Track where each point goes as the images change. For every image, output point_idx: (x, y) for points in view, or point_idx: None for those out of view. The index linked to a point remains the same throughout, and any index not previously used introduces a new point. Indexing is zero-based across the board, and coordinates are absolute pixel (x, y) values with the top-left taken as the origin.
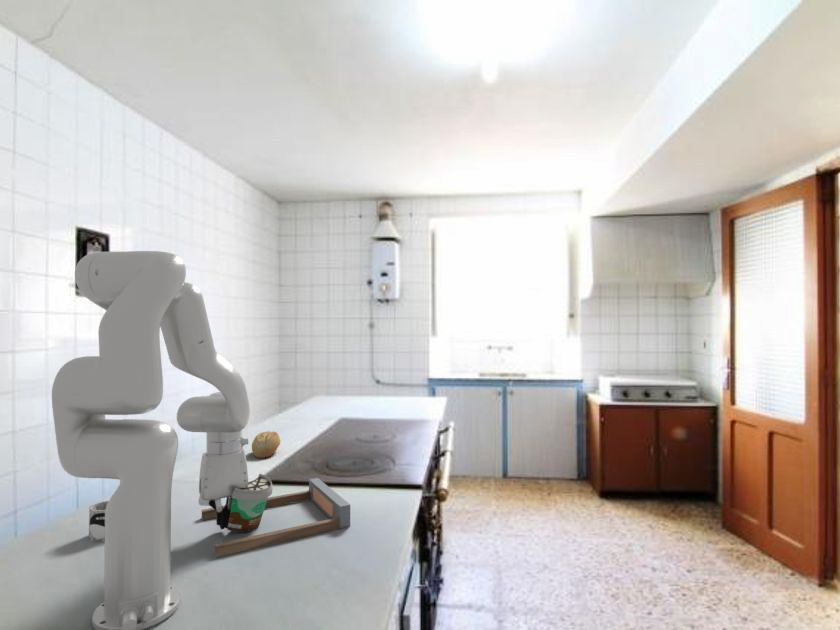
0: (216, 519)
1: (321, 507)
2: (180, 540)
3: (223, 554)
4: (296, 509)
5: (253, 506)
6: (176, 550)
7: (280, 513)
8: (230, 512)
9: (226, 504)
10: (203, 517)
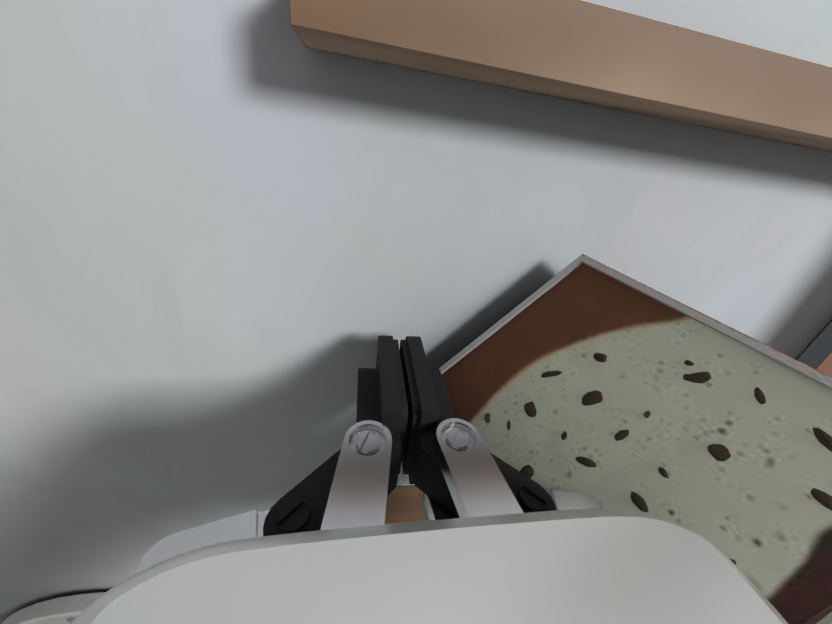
0: (358, 380)
1: (826, 348)
2: (161, 329)
3: None
4: (784, 274)
5: None
6: (159, 419)
7: (706, 277)
8: (423, 506)
9: (433, 470)
10: (311, 44)
